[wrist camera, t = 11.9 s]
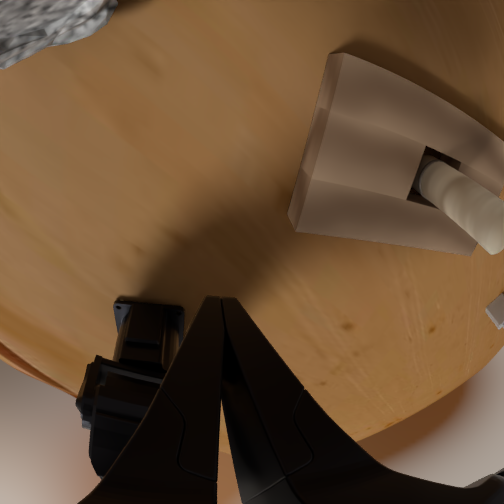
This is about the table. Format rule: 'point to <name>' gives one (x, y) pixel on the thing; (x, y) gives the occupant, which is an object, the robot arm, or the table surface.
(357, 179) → the board
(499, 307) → the lighter
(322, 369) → the table surface
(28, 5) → the hammer
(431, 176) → the dowel
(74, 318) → the table surface
